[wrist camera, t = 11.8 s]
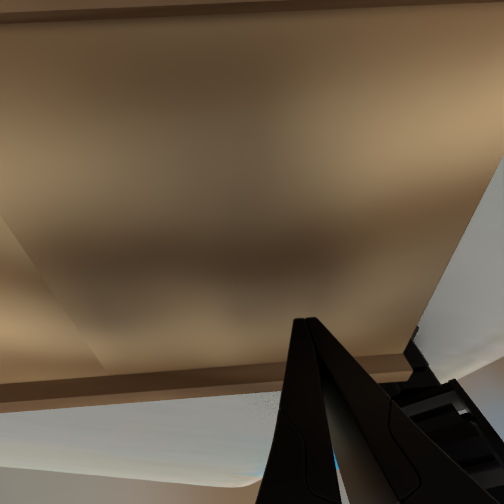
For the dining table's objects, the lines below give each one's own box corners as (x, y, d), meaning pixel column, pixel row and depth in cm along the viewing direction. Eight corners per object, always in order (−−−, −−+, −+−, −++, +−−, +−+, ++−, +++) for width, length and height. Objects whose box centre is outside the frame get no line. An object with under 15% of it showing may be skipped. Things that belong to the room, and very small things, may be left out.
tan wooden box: (346, 274, 21) (407, 380, 14) (79, 292, 20) (-9, 413, 13) (405, 13, 12) (688, -97, 4) (-74, 34, 11) (-649, -47, 4)
